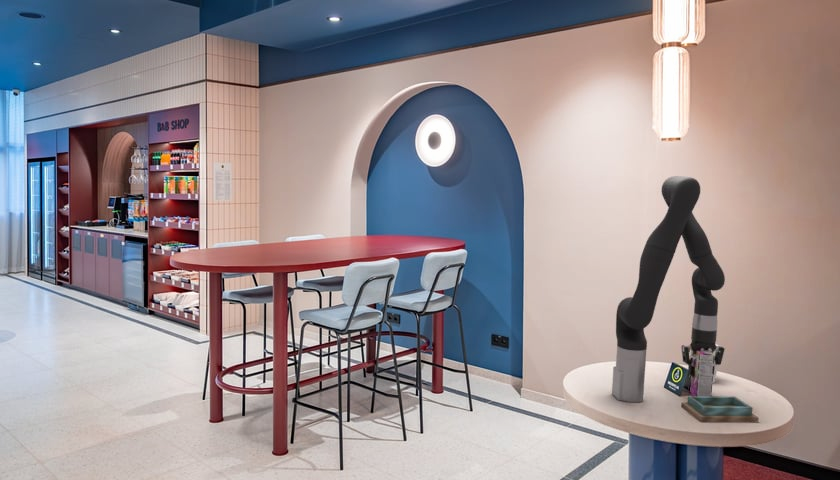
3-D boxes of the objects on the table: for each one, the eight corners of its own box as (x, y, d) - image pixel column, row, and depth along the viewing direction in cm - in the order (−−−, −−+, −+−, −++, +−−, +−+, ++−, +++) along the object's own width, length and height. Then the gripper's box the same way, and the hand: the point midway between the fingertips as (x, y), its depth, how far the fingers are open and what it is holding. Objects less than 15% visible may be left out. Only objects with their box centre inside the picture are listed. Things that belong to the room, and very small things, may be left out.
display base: (700, 421, 181) (701, 409, 180) (681, 406, 193) (682, 394, 192) (758, 422, 182) (759, 409, 181) (735, 407, 194) (736, 395, 193)
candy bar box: (687, 390, 209) (690, 344, 207) (702, 391, 208) (706, 345, 206) (695, 401, 198) (699, 353, 196) (711, 403, 197) (715, 354, 195)
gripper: (689, 329, 196) (685, 379, 198) (731, 330, 197) (727, 380, 199) (678, 324, 203) (674, 372, 205) (719, 324, 204) (715, 372, 206)
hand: (700, 376), depth 202 cm, fingers closed on candy bar box, 5 cm apart
